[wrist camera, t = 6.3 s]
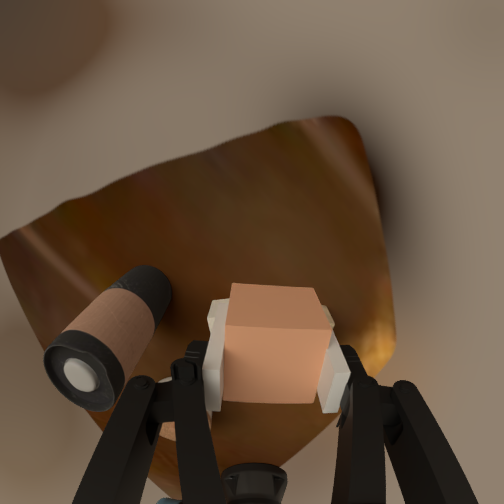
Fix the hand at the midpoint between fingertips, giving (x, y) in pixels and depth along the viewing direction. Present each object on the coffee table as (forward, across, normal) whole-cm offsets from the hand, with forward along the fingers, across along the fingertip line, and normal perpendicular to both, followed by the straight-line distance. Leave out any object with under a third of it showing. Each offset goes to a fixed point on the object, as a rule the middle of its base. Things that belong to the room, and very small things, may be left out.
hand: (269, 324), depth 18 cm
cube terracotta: (0, 0, 0) cm, 0 cm away
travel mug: (+19, +15, +7) cm, 25 cm away
